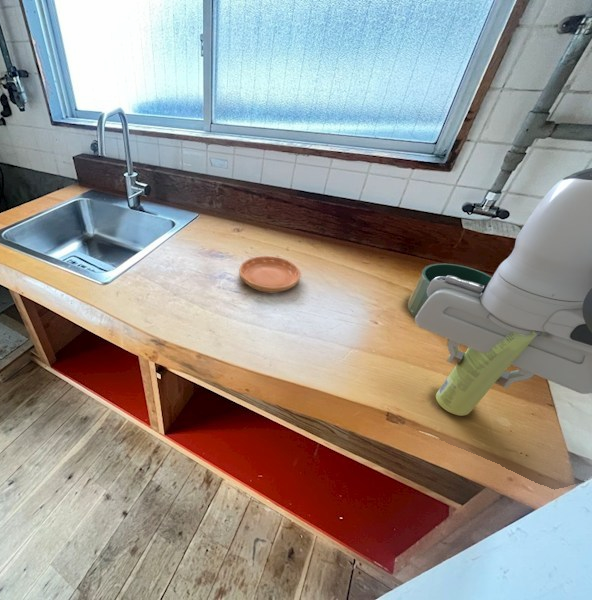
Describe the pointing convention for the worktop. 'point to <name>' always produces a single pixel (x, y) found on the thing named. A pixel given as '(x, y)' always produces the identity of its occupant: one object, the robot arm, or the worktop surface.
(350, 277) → the worktop surface
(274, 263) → the saucer
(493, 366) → the tube
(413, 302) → the vessel
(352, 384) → the worktop surface
